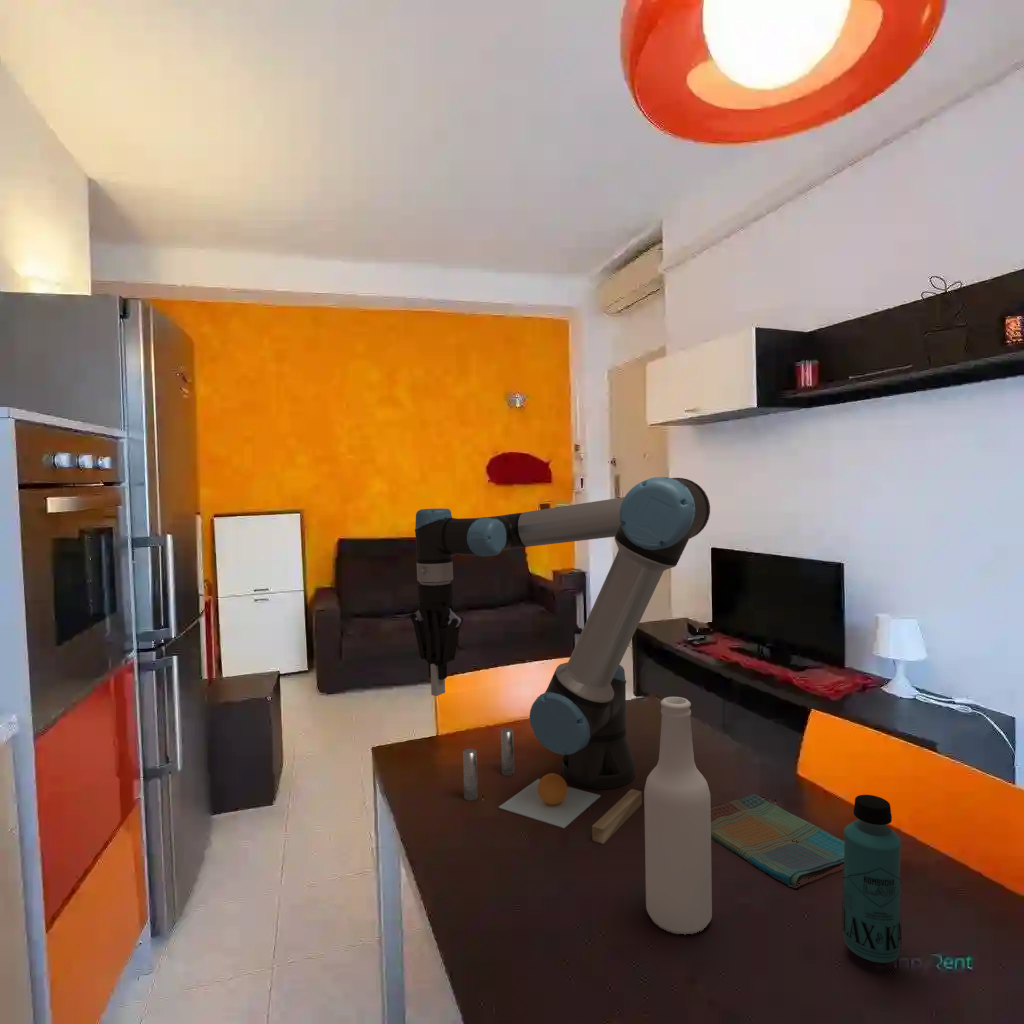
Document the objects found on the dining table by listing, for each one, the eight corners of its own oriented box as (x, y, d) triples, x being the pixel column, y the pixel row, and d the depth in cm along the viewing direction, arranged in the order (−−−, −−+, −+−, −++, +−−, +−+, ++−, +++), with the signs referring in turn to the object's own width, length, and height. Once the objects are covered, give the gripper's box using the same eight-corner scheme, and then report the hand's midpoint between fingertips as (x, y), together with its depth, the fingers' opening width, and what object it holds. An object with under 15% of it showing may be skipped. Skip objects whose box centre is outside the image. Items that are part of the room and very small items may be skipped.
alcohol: (725, 920, 90) (723, 702, 89) (681, 946, 85) (678, 716, 84) (676, 888, 97) (673, 686, 96) (632, 911, 93) (629, 699, 91)
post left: (480, 796, 128) (479, 750, 128) (472, 801, 126) (470, 755, 126) (469, 793, 130) (468, 747, 129) (461, 798, 127) (460, 752, 127)
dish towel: (794, 897, 96) (794, 879, 96) (683, 825, 117) (682, 811, 117) (870, 863, 104) (870, 847, 104) (753, 802, 125) (753, 788, 125)
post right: (516, 772, 138) (515, 729, 138) (509, 776, 136) (508, 733, 136) (506, 769, 140) (505, 727, 140) (499, 774, 138) (498, 731, 137)
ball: (564, 765, 126) (543, 773, 129) (549, 775, 121) (527, 784, 124) (577, 793, 125) (555, 801, 127) (562, 805, 120) (540, 813, 123)
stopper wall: (641, 804, 123) (641, 791, 123) (603, 844, 110) (602, 829, 110) (631, 801, 124) (631, 788, 124) (592, 840, 111) (592, 826, 111)
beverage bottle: (831, 941, 86) (830, 789, 85) (880, 937, 86) (880, 786, 85) (862, 979, 79) (861, 814, 78) (915, 974, 80) (915, 810, 79)
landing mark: (600, 796, 127) (600, 795, 127) (564, 828, 115) (564, 827, 115) (538, 779, 135) (538, 778, 135) (498, 808, 123) (498, 807, 123)
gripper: (399, 582, 139) (403, 693, 140) (447, 586, 132) (450, 704, 133) (423, 578, 146) (426, 684, 146) (470, 581, 138) (473, 693, 139)
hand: (438, 693), depth 140 cm, fingers closed
